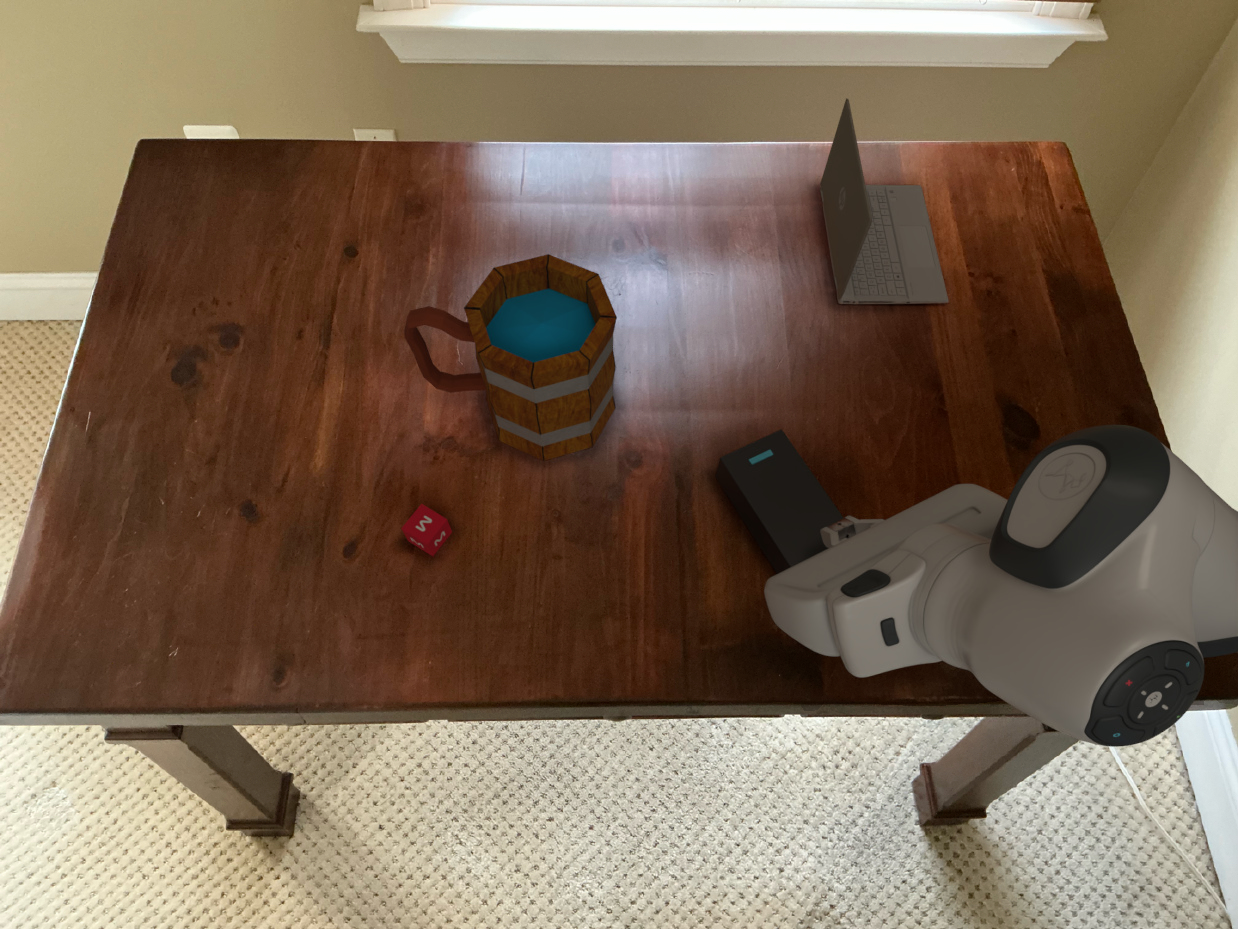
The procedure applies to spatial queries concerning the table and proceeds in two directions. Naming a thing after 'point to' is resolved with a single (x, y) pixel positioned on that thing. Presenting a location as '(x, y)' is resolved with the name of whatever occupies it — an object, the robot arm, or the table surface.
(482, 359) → the mug
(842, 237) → the laptop
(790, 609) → the robot arm
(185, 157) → the table surface
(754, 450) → the black power bank
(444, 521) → the dice
